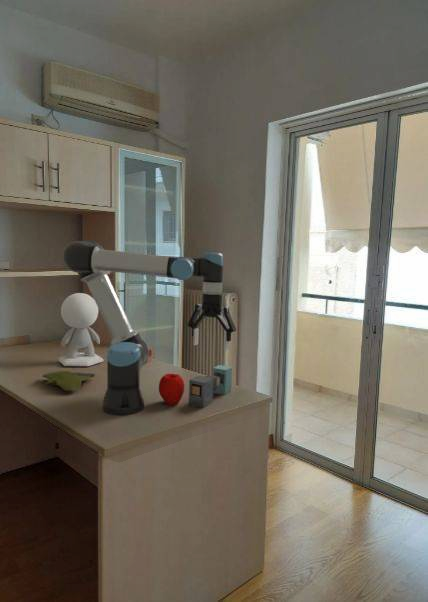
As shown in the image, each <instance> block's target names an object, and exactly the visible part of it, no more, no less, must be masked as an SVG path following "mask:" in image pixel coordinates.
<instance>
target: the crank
mask: <svg viewBox="0 0 428 602" xmlns="http://www.w3.org/2000/svg"><path fill="white" fill-rule="evenodd" d="M148 348H149V357H148V360H147V362H146V363H145V364H147V363H148V362H150V361H151V360H152V359H153V356H154V355H153V354H154V348H153V346H151V345H148Z"/></svg>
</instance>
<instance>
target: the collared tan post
mask: <svg viewBox="0 0 428 602" xmlns="http://www.w3.org/2000/svg"><path fill="white" fill-rule="evenodd" d="M204 377H209V378H213V391H215V390H216V389H217V386H218V385H220V377H218V376H213V375H211V376H210V375H204ZM192 394H195V395H201V394H202V386H201V385H197V384H195V385H193V386H192Z"/></svg>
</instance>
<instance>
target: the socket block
mask: <svg viewBox="0 0 428 602" xmlns="http://www.w3.org/2000/svg"><path fill="white" fill-rule="evenodd" d="M212 376H218V377H220V385H218V386H217V389H216V390H215V391H213V394H219V395H224V396H226V395H227V394H229V393H231V392H232V380H233V379H232V377H233V367H232V366H226V365H221V364H218V365H216V366H214V367H212Z"/></svg>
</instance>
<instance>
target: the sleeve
mask: <svg viewBox="0 0 428 602" xmlns="http://www.w3.org/2000/svg"><path fill="white" fill-rule="evenodd" d="M188 381H189V382H188V383H189V384H188V385H189V386H188V387H189V390H188V405H189V406H193V407H197V408H202V409H204V408H206V407H207V406H209V405H211V404H213V402H214V401H213V400H214V399H213V397H214V396H213V395H214V393H213V378H209V377H205V375H197V376H195V377H193V378H190V379H189V380H188ZM195 384H197V385H201V386H202V394H201V395H195V394H192V386H193V385H195Z"/></svg>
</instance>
